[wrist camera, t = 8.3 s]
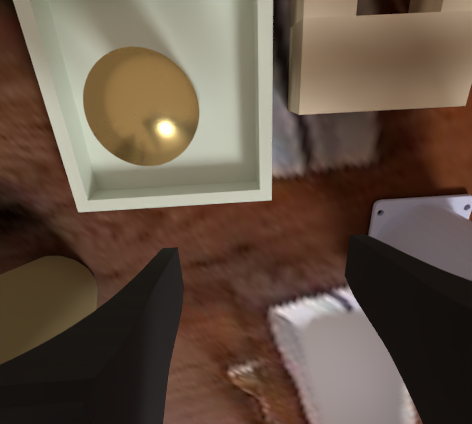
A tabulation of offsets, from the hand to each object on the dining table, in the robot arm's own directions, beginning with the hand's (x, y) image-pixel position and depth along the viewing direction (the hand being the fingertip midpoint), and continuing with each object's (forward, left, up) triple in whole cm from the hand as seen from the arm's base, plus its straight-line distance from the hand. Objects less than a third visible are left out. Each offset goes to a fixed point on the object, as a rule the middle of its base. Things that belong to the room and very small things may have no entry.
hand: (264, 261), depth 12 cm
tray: (+6, +5, -10) cm, 13 cm away
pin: (+6, +4, -10) cm, 12 cm away
